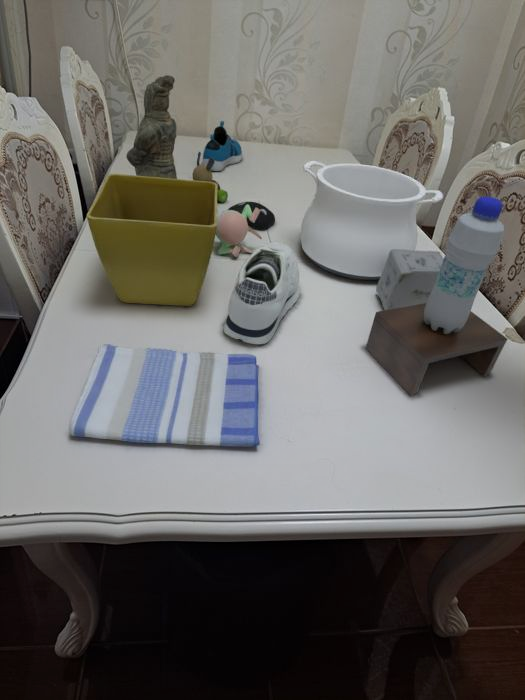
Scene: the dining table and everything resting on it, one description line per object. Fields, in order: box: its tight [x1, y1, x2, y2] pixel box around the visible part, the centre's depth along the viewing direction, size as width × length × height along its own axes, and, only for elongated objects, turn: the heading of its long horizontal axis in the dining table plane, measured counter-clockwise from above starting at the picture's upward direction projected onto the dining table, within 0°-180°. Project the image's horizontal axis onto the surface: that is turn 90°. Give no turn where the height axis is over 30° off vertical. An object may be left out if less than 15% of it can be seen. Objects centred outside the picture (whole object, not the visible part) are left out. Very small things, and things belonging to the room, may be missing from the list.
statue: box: [125, 74, 178, 179], centre depth 102 cm, size 11×9×30 cm
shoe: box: [201, 120, 243, 172], centre depth 148 cm, size 9×23×12 cm, turn 164°
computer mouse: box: [227, 201, 276, 231], centre depth 116 cm, size 8×12×4 cm, turn 62°
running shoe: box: [222, 241, 301, 345], centre depth 85 cm, size 11×29×12 cm, turn 170°
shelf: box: [365, 303, 508, 397], centre depth 77 cm, size 12×16×7 cm
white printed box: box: [375, 249, 444, 311], centre depth 89 cm, size 10×8×10 cm
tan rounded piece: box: [192, 151, 229, 203], centre depth 122 cm, size 9×9×11 cm
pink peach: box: [215, 204, 262, 258], centre depth 102 cm, size 12×10×9 cm
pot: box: [299, 160, 444, 281], centre depth 101 cm, size 28×24×17 cm
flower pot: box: [86, 173, 218, 307], centre depth 84 cm, size 19×19×17 cm
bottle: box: [424, 195, 505, 334], centre depth 69 cm, size 7×7×20 cm
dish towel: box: [68, 343, 260, 447], centre depth 65 cm, size 17×24×3 cm
